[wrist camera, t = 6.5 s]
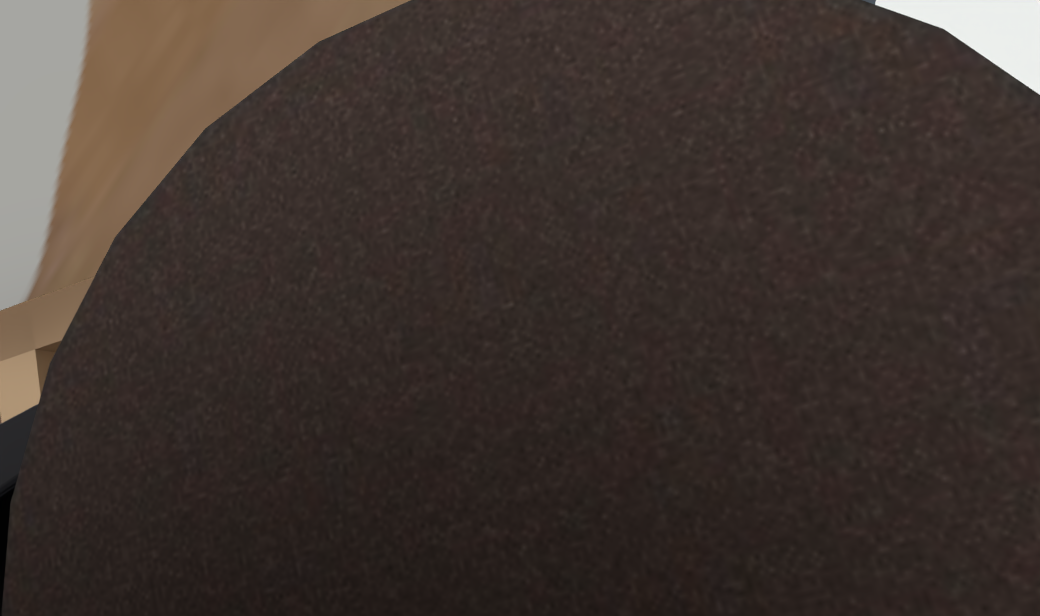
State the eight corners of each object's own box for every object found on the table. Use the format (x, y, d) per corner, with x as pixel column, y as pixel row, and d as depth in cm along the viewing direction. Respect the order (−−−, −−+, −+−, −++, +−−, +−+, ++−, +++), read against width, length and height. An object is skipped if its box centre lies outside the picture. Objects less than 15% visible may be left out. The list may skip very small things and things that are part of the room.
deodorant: (561, 509, 19) (-171, 669, 5) (730, 274, 19) (425, -232, 5) (807, 712, 17) (683, 1845, 3) (1003, 454, 17) (1833, 475, 3)
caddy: (601, 693, 19) (568, 728, 17) (129, 779, 22) (44, 819, 20) (480, 183, 21) (435, 150, 19) (70, 327, 24) (-11, 314, 22)
